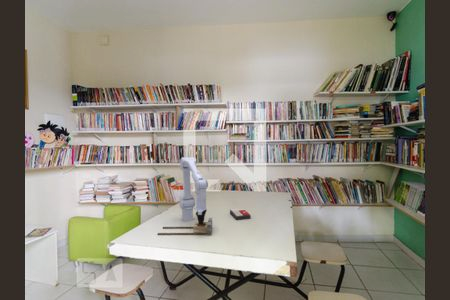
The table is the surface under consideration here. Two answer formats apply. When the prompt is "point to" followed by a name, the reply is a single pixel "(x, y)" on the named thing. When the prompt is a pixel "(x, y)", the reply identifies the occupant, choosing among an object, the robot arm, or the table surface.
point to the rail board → (209, 228)
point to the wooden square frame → (200, 228)
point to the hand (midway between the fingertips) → (201, 223)
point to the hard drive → (240, 214)
